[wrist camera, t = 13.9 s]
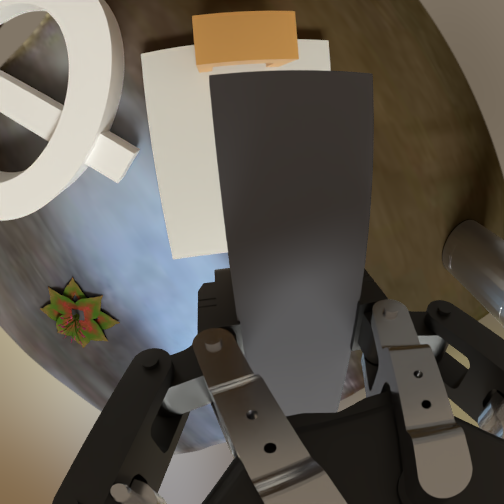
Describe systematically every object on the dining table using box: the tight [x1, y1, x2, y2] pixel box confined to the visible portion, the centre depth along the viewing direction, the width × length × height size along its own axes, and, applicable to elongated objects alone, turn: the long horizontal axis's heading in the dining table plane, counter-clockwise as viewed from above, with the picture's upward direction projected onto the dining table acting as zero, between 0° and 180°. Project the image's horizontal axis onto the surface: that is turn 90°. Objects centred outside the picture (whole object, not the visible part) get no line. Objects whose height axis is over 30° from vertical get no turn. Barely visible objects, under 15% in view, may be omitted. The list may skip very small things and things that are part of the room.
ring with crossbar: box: [0, 0, 140, 220], centre depth 21 cm, size 28×28×5 cm
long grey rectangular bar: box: [209, 70, 374, 416], centre depth 11 cm, size 4×14×4 cm, turn 4°
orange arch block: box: [192, 11, 299, 73], centre depth 21 cm, size 7×4×7 cm, turn 94°
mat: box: [141, 39, 330, 259], centre depth 30 cm, size 18×22×2 cm
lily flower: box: [40, 277, 120, 348], centre depth 36 cm, size 12×12×5 cm
